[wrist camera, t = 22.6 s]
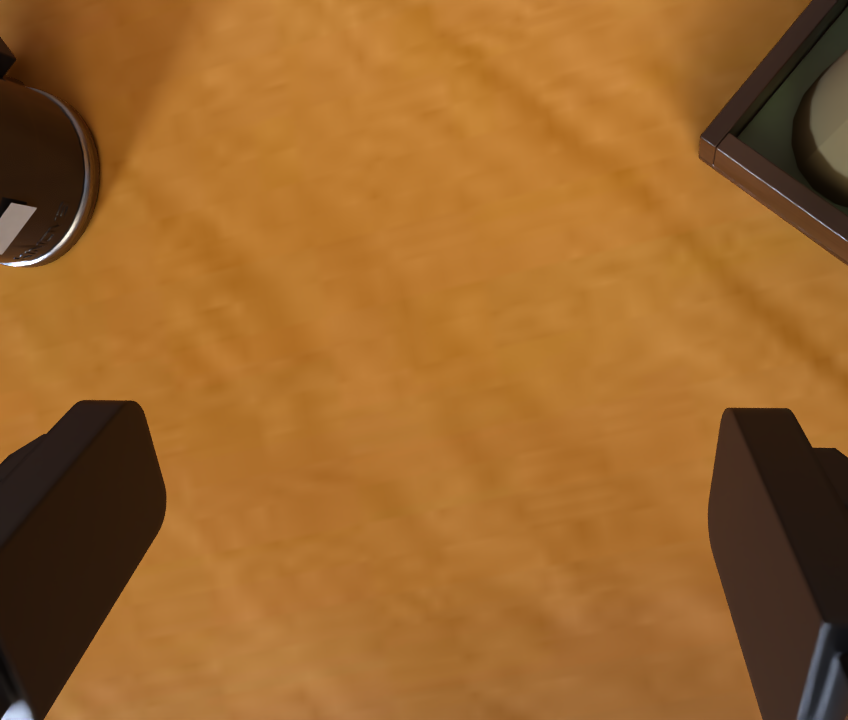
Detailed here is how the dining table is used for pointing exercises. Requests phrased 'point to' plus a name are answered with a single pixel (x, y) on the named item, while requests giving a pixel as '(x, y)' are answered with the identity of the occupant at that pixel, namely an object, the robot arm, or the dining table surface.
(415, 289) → the dining table surface
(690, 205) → the dining table surface
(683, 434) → the dining table surface
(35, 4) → the dining table surface
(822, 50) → the compartment tray
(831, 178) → the pawn
